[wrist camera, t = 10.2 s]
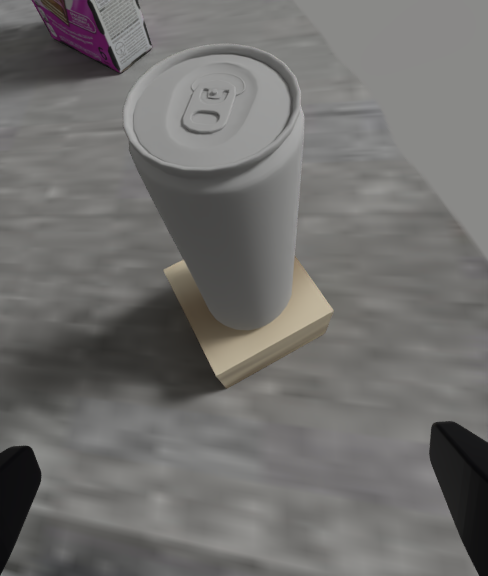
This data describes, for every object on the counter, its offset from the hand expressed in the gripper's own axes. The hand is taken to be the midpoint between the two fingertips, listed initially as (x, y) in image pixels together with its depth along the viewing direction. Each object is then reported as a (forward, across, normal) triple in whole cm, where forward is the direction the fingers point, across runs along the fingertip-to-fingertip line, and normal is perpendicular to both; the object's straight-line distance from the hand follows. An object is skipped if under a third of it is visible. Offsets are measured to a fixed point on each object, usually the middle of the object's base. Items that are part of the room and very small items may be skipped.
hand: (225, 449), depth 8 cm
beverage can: (+12, 0, +1) cm, 13 cm away
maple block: (+15, 0, +4) cm, 16 cm away
